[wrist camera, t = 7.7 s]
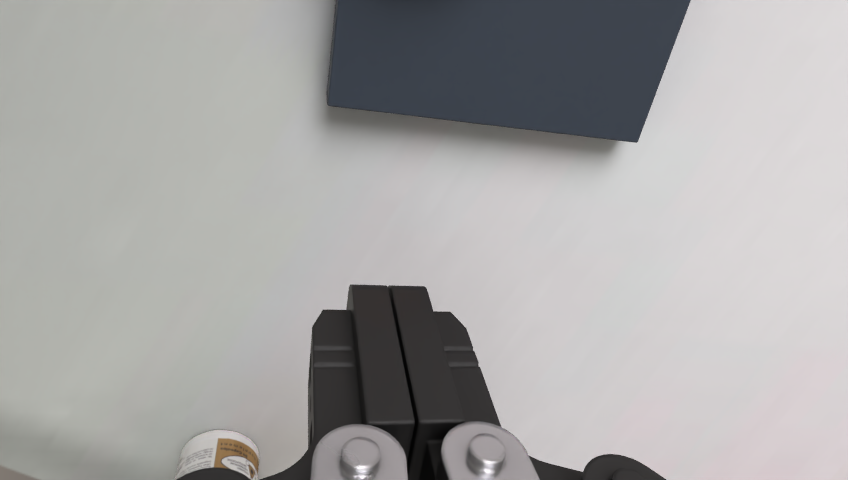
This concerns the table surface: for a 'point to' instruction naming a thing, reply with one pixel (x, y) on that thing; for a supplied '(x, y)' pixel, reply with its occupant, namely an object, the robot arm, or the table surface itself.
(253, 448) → the pill bottle
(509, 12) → the grey button base
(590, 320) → the table surface
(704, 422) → the table surface
